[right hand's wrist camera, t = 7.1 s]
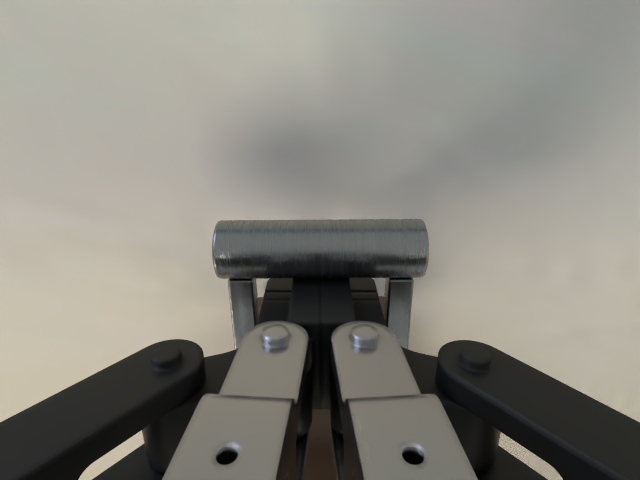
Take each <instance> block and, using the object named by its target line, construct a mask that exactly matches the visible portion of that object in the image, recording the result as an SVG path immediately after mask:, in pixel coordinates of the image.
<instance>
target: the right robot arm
mask: <svg viewBox="0 0 640 480" xmlns="http://www.w3.org/2000/svg"><path fill="white" fill-rule="evenodd" d="M313 409H330V418H331V425H330V441H331V448H332V456H333V464H334V472H335V479H336V480H548V479H546V478H545V477H543V476H542V475H540V474H539V473H537V472H536V471H534V470H533V469H532V468H530V467H529V466H527V465H526V464H524V463H523V462H521V461H520V460H519V459H517V458H516V457H514V456H513V455H511V454H510V453H508V452H507V451H506V450H504V449H503V448H501V447H500V446H498V443H499V438H500V433H501V432H502V433H504V434H505V435H507V436H508V437H510V438H511V439H513V440H514V441H516V442H517V443H519V444H520V445H522V446H523V447H525V448H526V449H528V450H529V451H531V452H532V453H534V454H535V455H537V456H538V457H540V458H541V459H543V460H544V461H546V462H547V463H549V464H550V465H551V466H552V467H554V468H555V469H556V470H557V471H558V473H559V474H560V475H561V477H562V478H563V480H640V423H639V422H638V421H636V420H634V419H632V418H630V417H628V416H626V415H624V414H622V413H620V412H618V411H616V410H614V409H612V408H610V407H608V406H606V405H604V404H603V403H601V402H599V401H597V400H595V399H593V398H591V397H589V396H587V395H585V394H583V393H581V392H579V391H577V390H575V389H573V388H571V387H570V386H568V385H566V384H564V383H562V382H560V381H558V380H556V379H554V378H552V377H550V376H548V375H546V374H544V373H542V372H540V371H538V370H537V369H535V368H533V367H531V366H529V365H527V364H525V363H523V362H521V361H519V360H517V359H515V358H513V357H511V356H509V355H507V354H505V353H504V352H502V351H500V350H498V349H496V348H494V347H492V346H489V345H487V344H484V343H480V342H476V341H469V340H458V341H453V342H449V343H447V344H445V345H444V346H442V347H441V349H440V350H439V352H438V357H435V356H430V355H425V354H421V353H417V352H413V351H410V350H408V349H406V348H403V347H402V346H400V344H399V341H398V339H397V337H396V335H395V334H394V332H393V331H392V330H390V329H389V328H388V327H386V324H385V320H384V316H383V312H382V308H381V305H380V301H379V297H378V293H377V289H376V286H375V282H374V280H373V279H372V278H270V279H269V280H268V282H267V286H266V290H265V294H264V298H263V302H262V306H261V310H260V314H259V318H258V322H257V325H256V326H254V327H252V328H251V329H249V330H248V331H247V332H246V333H245V335H244V336H243V339H242V341H241V343H240V346H239V348H238V349H235V350H233V351H230V352H227V353H223V354H218V355H214V356H209V357H204V355H203V351H202V348H201V347H200V346H199V345H198V344H196V343H194V342H192V341H188V340H181V339H175V340H166V341H162V342H158V343H155V344H152V345H150V346H148V347H146V348H144V349H142V350H140V351H138V352H136V353H134V354H132V355H130V356H129V357H127V358H125V359H123V360H121V361H119V362H117V363H115V364H113V365H111V366H109V367H107V368H105V369H103V370H101V371H99V372H97V373H96V374H94V375H92V376H90V377H88V378H86V379H84V380H82V381H80V382H78V383H76V384H74V385H72V386H70V387H68V388H66V389H64V390H63V391H61V392H59V393H57V394H55V395H53V396H51V397H49V398H47V399H45V400H43V401H41V402H39V403H37V404H35V405H33V406H32V407H30V408H28V409H26V410H24V411H22V412H20V413H18V414H16V415H14V416H12V417H10V418H8V419H6V420H4V421H2V422H0V480H78V479H79V477H80V475H81V474H82V473H83V471H84V470H85V469H86V468H87V467H88V466H89V465H90V464H92V463H93V462H94V461H96V460H97V459H99V458H100V457H102V456H103V455H105V454H106V453H108V452H109V451H111V450H112V449H114V448H115V447H117V446H118V445H120V444H121V443H123V442H124V441H126V440H127V439H129V438H130V437H132V436H133V435H135V434H136V433H138V432H139V431H141V430H142V432H143V437H144V442H145V443H144V444H143V445H141V446H140V447H139V448H137V449H136V450H134V451H133V452H131V453H130V454H128V455H127V456H126V457H124V458H123V459H121V460H120V461H118V462H117V463H115V464H114V465H113V466H111V467H110V468H108V469H107V470H105V471H104V472H102V473H101V474H100V475H98V476H97V477H95V478H94V479H92V480H304V478H305V470H306V463H307V455H308V447H309V429H310V427H311V424H312V411H313Z"/></svg>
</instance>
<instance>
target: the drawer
mask: <svg viewBox="0 0 640 480" xmlns="http://www.w3.org/2000/svg"><path fill="white" fill-rule="evenodd" d="M212 257H213V265H214V269H215V272H216V275H217V277H219V278H221V279H229V281H228V287H229V297H230V307H231V317H232V326H233V336H234V346H235V349H238V348H239V346H240V343H241V341H242V339H243V336H244V335H245V333H246V332H247V331H248V330H249V329H251V328H252V327H254V326H256V325H257V322H258V318H259V314H260V310H261V306H262V302H263V298H264V297H258V298H257V285H256V278H386V280H385V297H379V301H380V305H381V308H382V312H383V316H384V320H385V324H386V327H388V328H389V329H390V330H392V331H393V332H394V334H395V335H396V337H397V339H398V341H399V344H400V346H402V347H403V348H406V349H408V340H409V329H410V317H411V305H412V294H413V282H414V281H413V278H412V277H422V276H424V274H425V272H426V269H427V265H428V257H429V242H428V233H427V229H426V226H425V223H424V221H423V220H420V219H368V220H222V221H219V222H218V223H217V224H216V226H215V230H214V234H213V242H212ZM330 425H331V418H330V409H313V411H312V424H311V427H310V429H309V447H308V455H307V463H306V470H305V478H304V480H336V479H335V472H334V464H333V456H332V448H331V441H330Z"/></svg>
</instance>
